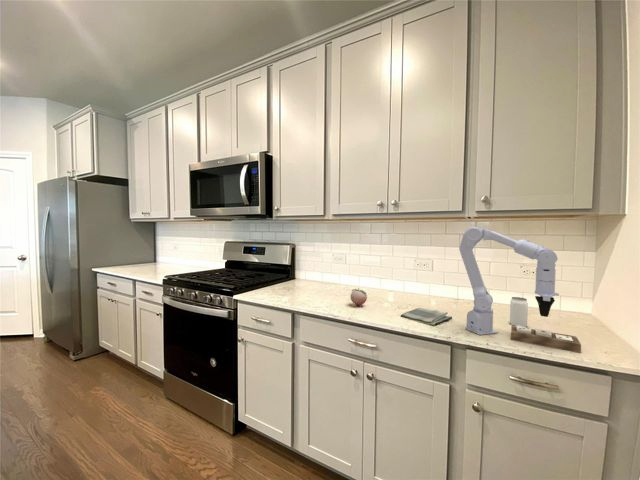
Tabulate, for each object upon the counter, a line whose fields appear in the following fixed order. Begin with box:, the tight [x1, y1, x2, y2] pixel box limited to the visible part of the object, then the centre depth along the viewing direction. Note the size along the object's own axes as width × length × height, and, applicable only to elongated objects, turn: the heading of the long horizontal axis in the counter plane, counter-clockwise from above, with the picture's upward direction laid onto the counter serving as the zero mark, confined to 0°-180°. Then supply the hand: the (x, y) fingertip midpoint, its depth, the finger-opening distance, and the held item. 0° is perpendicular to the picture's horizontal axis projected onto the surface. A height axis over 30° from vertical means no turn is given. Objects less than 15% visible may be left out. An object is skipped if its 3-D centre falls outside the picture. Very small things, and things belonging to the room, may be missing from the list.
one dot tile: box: [535, 328, 552, 338], centre depth 106 cm, size 5×5×3 cm
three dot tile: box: [516, 326, 532, 334], centre depth 110 cm, size 5×5×3 cm
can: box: [509, 296, 529, 327], centre depth 125 cm, size 6×6×12 cm
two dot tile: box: [555, 334, 573, 341], centre depth 103 cm, size 5×5×3 cm
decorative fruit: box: [350, 287, 368, 307], centre depth 154 cm, size 9×8×10 cm
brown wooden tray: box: [510, 325, 582, 353], centre depth 106 cm, size 20×9×3 cm, turn 55°
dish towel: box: [400, 307, 453, 327], centre depth 135 cm, size 19×18×3 cm
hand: (544, 316), depth 106 cm, fingers closed
